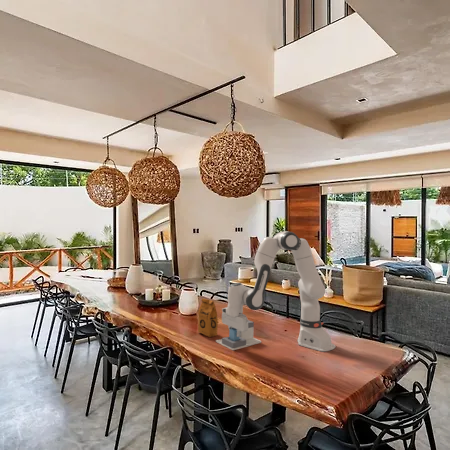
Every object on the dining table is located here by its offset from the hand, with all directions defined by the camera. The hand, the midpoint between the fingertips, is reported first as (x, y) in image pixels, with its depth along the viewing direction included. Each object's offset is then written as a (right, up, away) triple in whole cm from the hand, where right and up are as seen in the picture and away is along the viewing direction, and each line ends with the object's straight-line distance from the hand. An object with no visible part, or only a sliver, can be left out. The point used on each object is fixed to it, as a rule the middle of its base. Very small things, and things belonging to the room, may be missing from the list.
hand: (234, 335), depth 198 cm
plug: (0, -5, 0) cm, 5 cm away
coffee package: (-16, -6, +19) cm, 26 cm away
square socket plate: (+3, -6, +6) cm, 9 cm away
